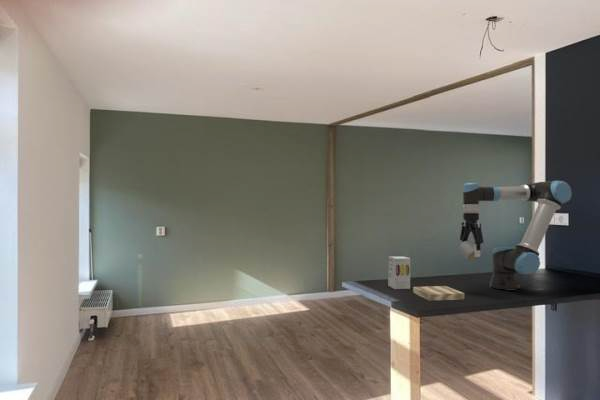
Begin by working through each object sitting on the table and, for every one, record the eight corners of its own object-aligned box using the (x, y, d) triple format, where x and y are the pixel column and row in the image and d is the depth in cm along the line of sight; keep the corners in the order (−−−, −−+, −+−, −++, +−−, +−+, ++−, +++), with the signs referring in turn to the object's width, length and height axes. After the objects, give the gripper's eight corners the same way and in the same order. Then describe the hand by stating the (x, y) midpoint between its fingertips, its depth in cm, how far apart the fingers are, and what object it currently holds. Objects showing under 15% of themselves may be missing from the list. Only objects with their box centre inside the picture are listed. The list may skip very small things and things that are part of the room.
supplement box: (394, 289, 224) (394, 258, 224) (387, 286, 233) (387, 256, 233) (410, 288, 226) (410, 257, 226) (403, 285, 235) (403, 255, 235)
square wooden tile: (445, 291, 219) (445, 285, 219) (464, 299, 201) (464, 293, 201) (413, 292, 216) (413, 286, 216) (429, 300, 198) (429, 294, 198)
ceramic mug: (468, 263, 212) (470, 253, 208) (456, 254, 218) (458, 243, 214) (484, 255, 215) (486, 245, 210) (472, 246, 221) (474, 235, 216)
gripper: (452, 212, 225) (452, 252, 225) (477, 213, 203) (477, 258, 203) (465, 212, 226) (465, 252, 226) (491, 213, 204) (491, 258, 204)
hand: (471, 255), depth 214 cm, fingers closed on ceramic mug, 10 cm apart
